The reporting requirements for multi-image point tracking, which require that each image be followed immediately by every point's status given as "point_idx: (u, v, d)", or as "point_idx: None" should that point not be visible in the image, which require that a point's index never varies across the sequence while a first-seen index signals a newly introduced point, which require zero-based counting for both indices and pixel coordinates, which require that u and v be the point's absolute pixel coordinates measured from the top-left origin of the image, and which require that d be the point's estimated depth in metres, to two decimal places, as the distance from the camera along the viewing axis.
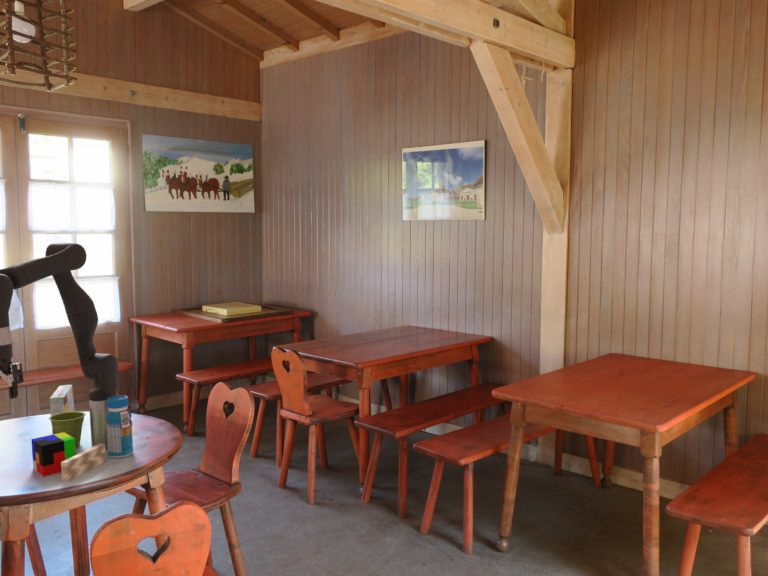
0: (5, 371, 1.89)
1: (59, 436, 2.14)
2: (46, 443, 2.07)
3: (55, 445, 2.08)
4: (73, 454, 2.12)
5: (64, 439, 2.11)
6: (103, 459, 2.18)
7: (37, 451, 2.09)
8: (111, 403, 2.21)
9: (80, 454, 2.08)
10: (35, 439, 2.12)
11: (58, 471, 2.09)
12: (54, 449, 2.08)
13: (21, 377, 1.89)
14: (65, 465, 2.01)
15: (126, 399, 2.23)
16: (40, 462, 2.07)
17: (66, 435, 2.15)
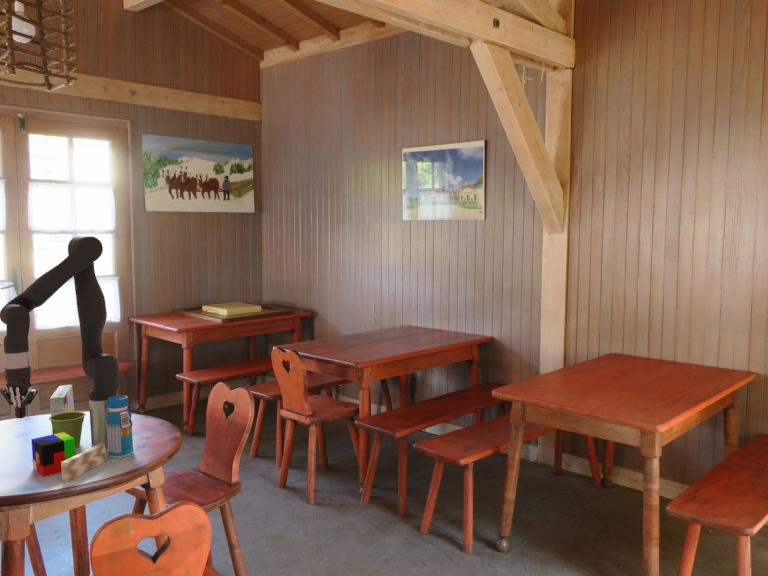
0: (24, 391, 2.12)
1: (59, 436, 2.14)
2: (46, 443, 2.07)
3: (55, 445, 2.08)
4: (73, 454, 2.12)
5: (64, 439, 2.11)
6: (103, 459, 2.18)
7: (37, 451, 2.09)
8: (111, 403, 2.21)
9: (80, 454, 2.08)
10: (35, 439, 2.12)
11: (58, 471, 2.09)
12: (54, 449, 2.08)
13: (30, 401, 2.14)
14: (65, 465, 2.01)
15: (126, 399, 2.23)
16: (40, 462, 2.07)
17: (66, 435, 2.15)
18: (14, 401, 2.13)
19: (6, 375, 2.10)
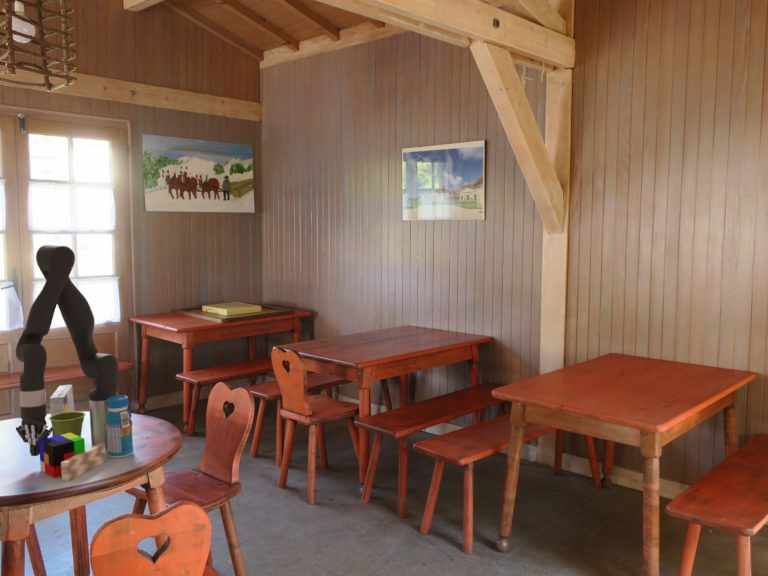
0: (40, 429, 2.11)
1: (67, 437, 2.13)
2: (56, 444, 2.06)
3: (65, 445, 2.07)
4: None
5: (74, 440, 2.10)
6: (103, 459, 2.18)
7: (46, 452, 2.07)
8: (111, 403, 2.21)
9: (80, 454, 2.08)
10: (43, 440, 2.10)
11: None
12: (64, 450, 2.07)
13: (45, 438, 2.13)
14: (65, 465, 2.01)
15: (126, 399, 2.23)
16: (50, 463, 2.06)
17: (74, 435, 2.14)
18: (29, 439, 2.12)
19: (21, 413, 2.10)
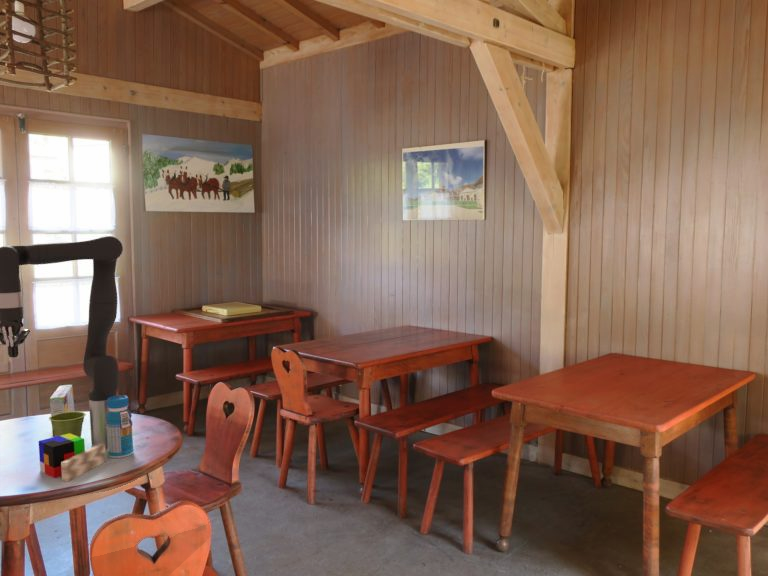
0: (17, 330, 2.18)
1: (66, 437, 2.13)
2: (56, 444, 2.06)
3: (65, 446, 2.07)
4: None
5: (73, 440, 2.10)
6: (103, 459, 2.18)
7: (46, 453, 2.07)
8: (111, 403, 2.21)
9: (80, 454, 2.08)
10: (43, 441, 2.10)
11: None
12: (64, 450, 2.07)
13: (22, 340, 2.20)
14: (65, 465, 2.01)
15: (126, 399, 2.23)
16: (50, 463, 2.06)
17: (74, 436, 2.14)
18: (7, 340, 2.19)
19: None
